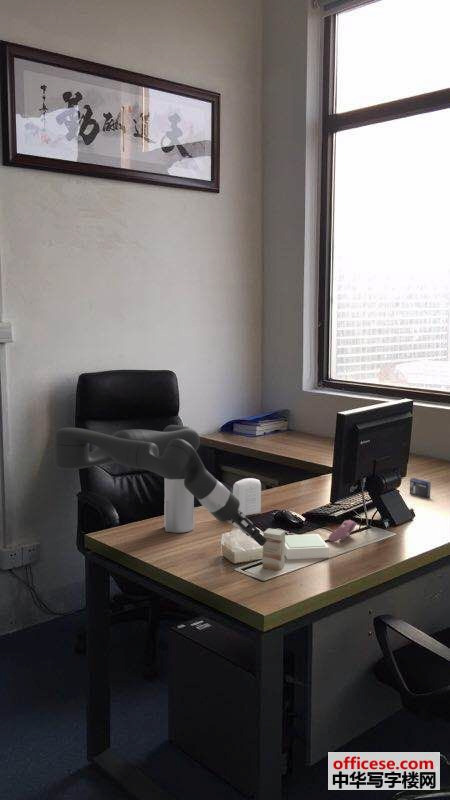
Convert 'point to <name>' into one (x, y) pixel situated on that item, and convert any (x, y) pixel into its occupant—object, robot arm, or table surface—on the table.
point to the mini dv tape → (420, 487)
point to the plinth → (305, 547)
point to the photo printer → (248, 495)
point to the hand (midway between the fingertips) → (257, 538)
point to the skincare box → (274, 549)
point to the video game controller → (343, 531)
